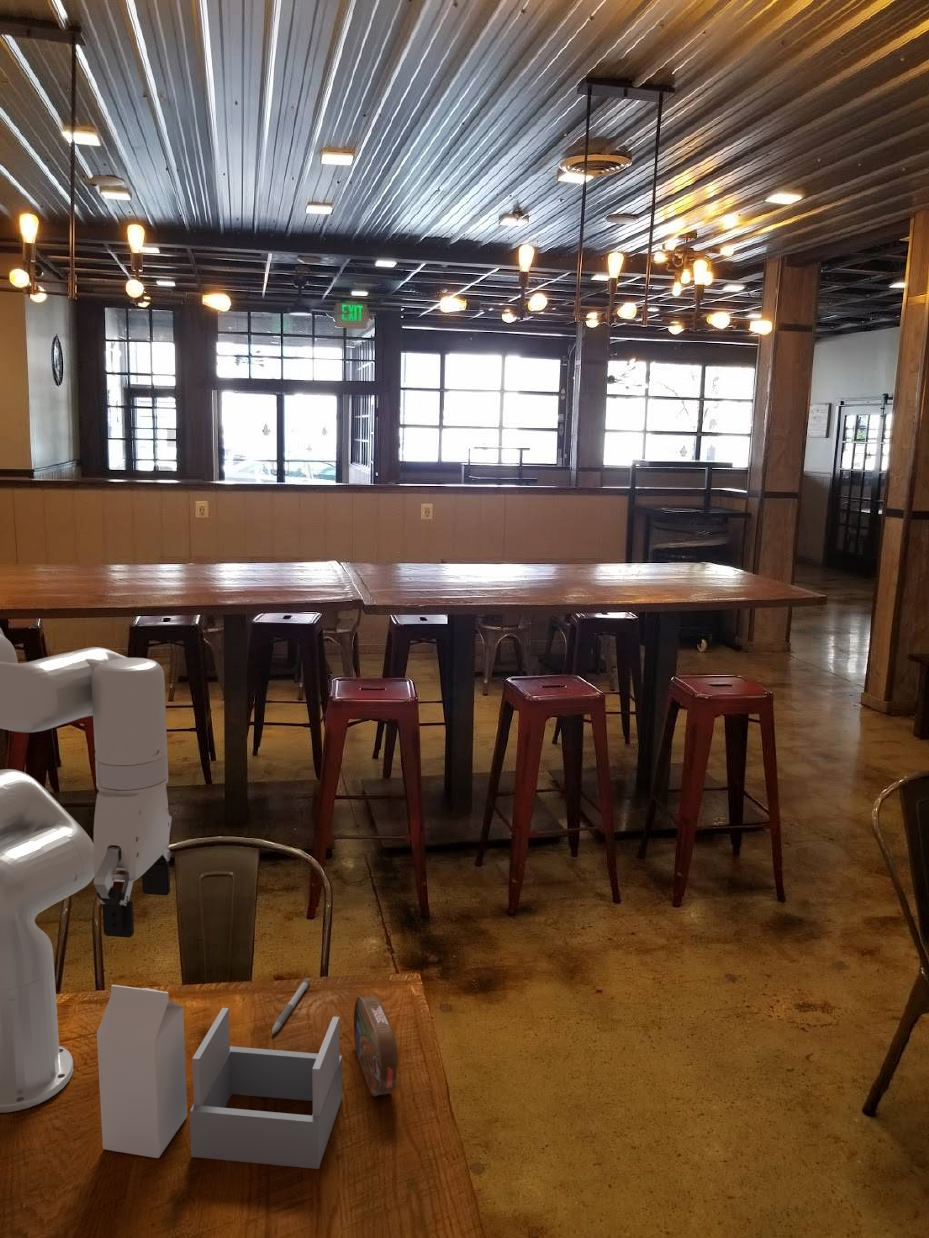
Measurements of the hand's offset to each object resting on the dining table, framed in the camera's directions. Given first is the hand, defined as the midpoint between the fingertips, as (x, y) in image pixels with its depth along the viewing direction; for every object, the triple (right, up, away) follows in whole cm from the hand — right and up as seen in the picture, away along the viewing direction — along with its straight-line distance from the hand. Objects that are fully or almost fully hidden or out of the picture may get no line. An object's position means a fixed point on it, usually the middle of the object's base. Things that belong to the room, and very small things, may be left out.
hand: (138, 913), depth 109 cm
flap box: (+14, -28, +7) cm, 32 cm away
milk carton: (-1, -28, +5) cm, 29 cm away
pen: (+12, -24, +31) cm, 41 cm away
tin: (+25, -26, +17) cm, 40 cm away
